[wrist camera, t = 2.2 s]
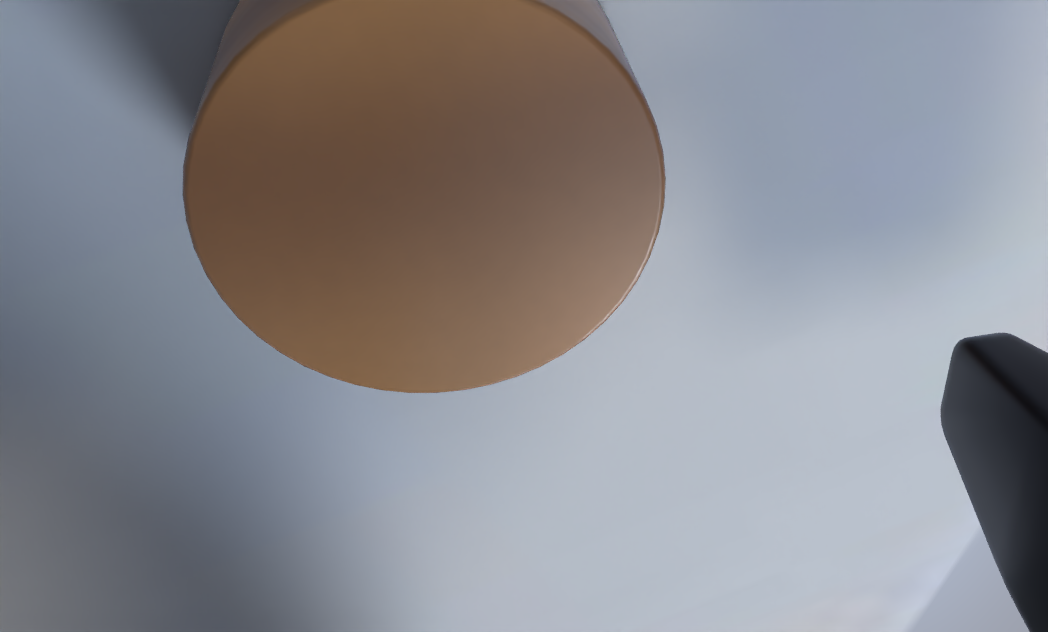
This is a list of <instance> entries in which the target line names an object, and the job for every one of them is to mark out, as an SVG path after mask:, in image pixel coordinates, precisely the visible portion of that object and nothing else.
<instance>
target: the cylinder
mask: <svg viewBox="0 0 1048 632" xmlns="http://www.w3.org/2000/svg"><path fill="white" fill-rule="evenodd" d="M665 181H666V177H665V167H664V156H663V149H662V145H661V141H660V137H659V133H658V129H657V125H656V123H655V120H654V118H653V115H652V113H651V111H650V108H649V106H648V103H647V101H646V99H645V96H644V94H643V92H642V90H641V88H640V86H639V84H638V82H637V79H636V77H635V75H634V73H633V71H632V69H631V67H630V65H629V62H628V60H627V58H626V56H625V54H624V52H623V50H622V48H621V45H620V43H619V41H618V39H617V37H616V35H615V33H614V30H613V28H612V26H611V24H610V22H609V20H608V18H607V16H606V15H605V13H604V11H603V10H602V8H601V6H600V5H599V3H598V1H597V0H240V1H239V3H238V5H237V7H236V9H235V10H234V12H233V14H232V16H231V18H230V20H229V21H228V23H227V26H226V28H225V31H224V34H223V37H222V40H221V42H220V45H219V48H218V51H217V54H216V57H215V60H214V63H213V66H212V69H211V72H210V75H209V78H208V81H207V84H206V87H205V90H204V93H203V96H202V99H201V102H200V105H199V108H198V111H197V114H196V117H195V120H194V123H193V126H192V129H191V132H190V135H189V139H188V144H187V149H186V154H185V160H184V165H183V200H184V208H185V216H186V222H187V226H188V229H189V233H190V236H191V239H192V243H193V246H194V249H195V251H196V253H197V256H198V258H199V260H200V262H201V264H202V267H203V269H204V271H205V273H206V275H207V277H208V278H209V280H210V281H211V283H212V284H213V286H214V288H215V289H216V291H217V292H218V294H219V295H220V297H221V298H222V300H223V301H224V302H225V303H226V304H227V305H228V307H229V308H230V309H231V310H232V311H233V313H234V314H235V315H236V316H237V317H238V318H239V319H240V320H241V321H242V322H243V323H244V324H245V325H246V326H247V327H248V328H249V329H250V330H252V331H253V332H254V333H255V334H256V335H257V336H258V337H259V338H261V339H262V340H263V341H265V342H266V343H268V344H269V345H270V346H272V347H273V348H275V349H276V350H277V351H279V352H280V353H282V354H284V355H285V356H287V357H289V358H291V359H293V360H294V361H296V362H298V363H300V364H301V365H303V366H305V367H308V368H310V369H312V370H315V371H317V372H319V373H322V374H324V375H326V376H329V377H332V378H335V379H338V380H342V381H345V382H348V383H351V384H355V385H359V386H364V387H369V388H374V389H379V390H386V391H397V392H408V393H439V392H448V391H458V390H466V389H471V388H476V387H481V386H486V385H491V384H494V383H497V382H501V381H504V380H507V379H510V378H514V377H517V376H519V375H522V374H524V373H526V372H529V371H531V370H533V369H536V368H538V367H541V366H542V365H544V364H546V363H548V362H550V361H552V360H553V359H555V358H557V357H559V356H561V355H562V354H564V353H566V352H567V351H569V350H570V349H571V348H573V347H574V346H576V345H577V344H579V343H580V342H581V341H583V340H584V339H586V338H587V337H588V336H589V335H590V334H591V333H592V332H594V331H595V330H596V329H597V328H598V327H599V326H600V325H602V324H603V323H604V322H605V321H606V320H607V319H608V318H609V316H610V315H611V314H612V313H613V312H614V311H615V310H616V309H617V308H618V306H619V305H620V304H621V303H622V302H623V301H624V299H625V298H626V296H627V295H628V293H629V292H630V291H631V289H632V288H633V286H634V285H635V283H636V282H637V280H638V278H639V277H640V275H641V273H642V271H643V269H644V267H645V265H646V263H647V261H648V259H649V257H650V254H651V251H652V249H653V246H654V243H655V240H656V237H657V235H658V232H659V228H660V223H661V218H662V213H663V208H664V198H665Z"/></svg>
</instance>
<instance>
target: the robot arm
mask: <svg viewBox="0 0 1048 632" xmlns="http://www.w3.org/2000/svg"><path fill="white" fill-rule="evenodd" d="M941 423H942V428H943V432H944V435H945V438H946V440H947V443H948V445H949V448H950V450H951V453H952V455H953V458H954V460H955V463H956V465H957V468H958V470H959V473H960V475H961V477H962V480H963V482H964V485H965V487H966V490H967V492H968V495H969V497H970V500H971V502H972V505H973V507H974V510H975V512H976V515H977V517H978V520H979V522H980V525H981V527H982V530H983V532H984V535H985V537H986V540H987V542H988V545H989V547H990V549H991V552H992V554H993V557H994V559H995V562H996V564H997V566H998V568H999V571H1000V573H1001V576H1002V578H1003V580H1004V583H1005V585H1006V587H1007V589H1008V591H1009V593H1010V595H1011V597H1012V598H1013V601H1014V603H1015V605H1016V607H1017V609H1018V611H1019V613H1020V614H1021V616H1022V618H1023V620H1024V622H1025V624H1026V625H1027V627H1028V629H1029V631H1030V632H1048V353H1047V352H1045V351H1043V350H1041V349H1039V348H1037V347H1035V346H1033V345H1032V344H1030V343H1028V342H1026V341H1024V340H1022V339H1020V338H1018V337H1016V336H1014V335H1011V334H1008V333H994V334H988V335H981V336H974V337H968V338H964V339H962V340H960V341H959V342H958V343H957V344H956V346H955V347H954V350H953V353H952V357H951V361H950V366H949V371H948V376H947V380H946V385H945V390H944V394H943V399H942V404H941Z"/></svg>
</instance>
